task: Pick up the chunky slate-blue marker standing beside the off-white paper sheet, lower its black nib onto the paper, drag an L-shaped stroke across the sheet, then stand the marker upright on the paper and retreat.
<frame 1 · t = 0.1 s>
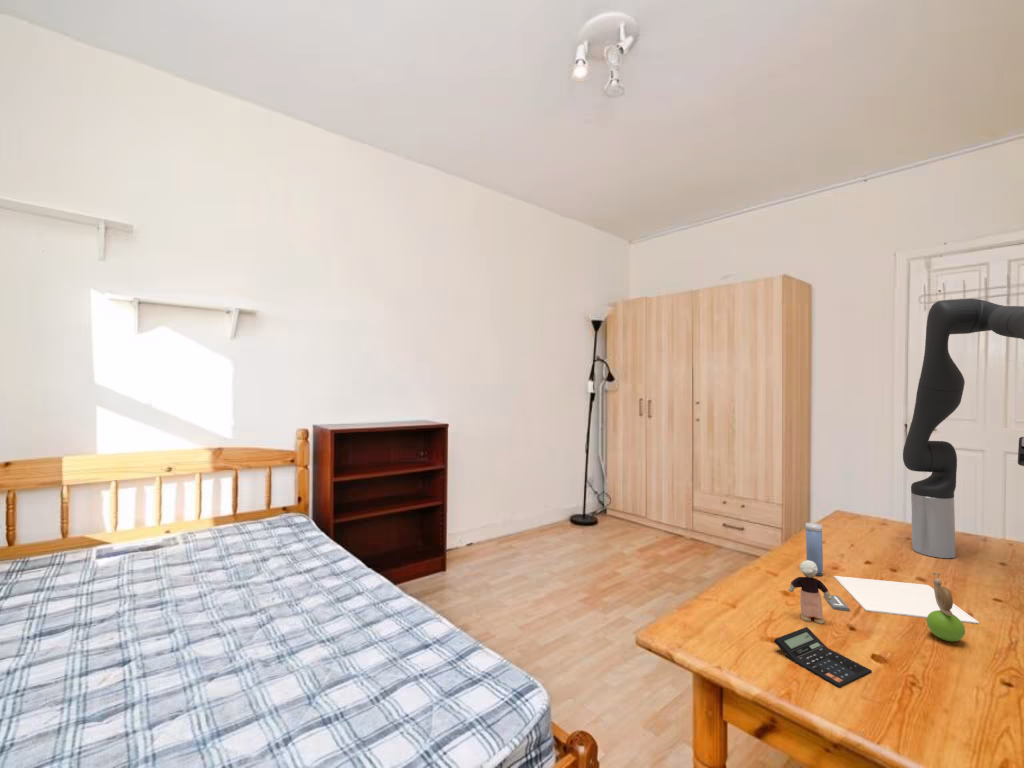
grandmother figurine: (809, 619, 95), on the table
grey flat piece: (836, 603, 101), on the table
calculator: (820, 664, 81), on the table
marker: (814, 573, 117), on the table
paper: (898, 597, 103), on the table
snail figurine: (944, 638, 87), on the table
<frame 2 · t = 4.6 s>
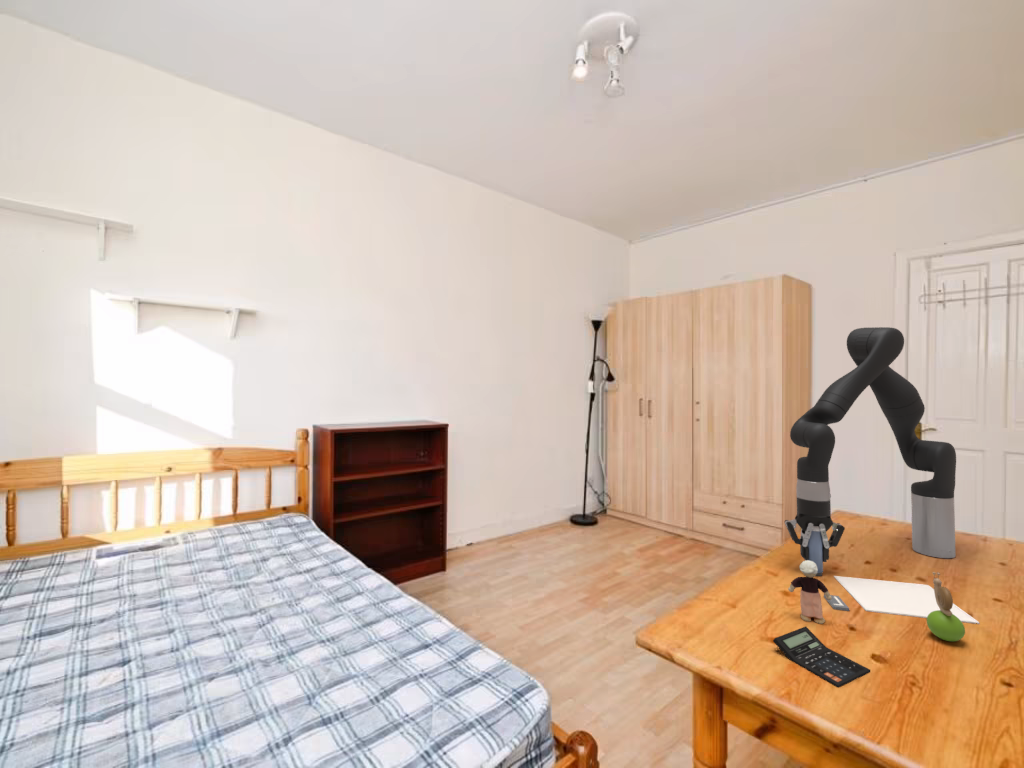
hand: (814, 559, 117), 4 cm above the table, fingers closed on marker, 3 cm apart
marker: (815, 573, 117), on the table, touching gripper
everything else where it was.
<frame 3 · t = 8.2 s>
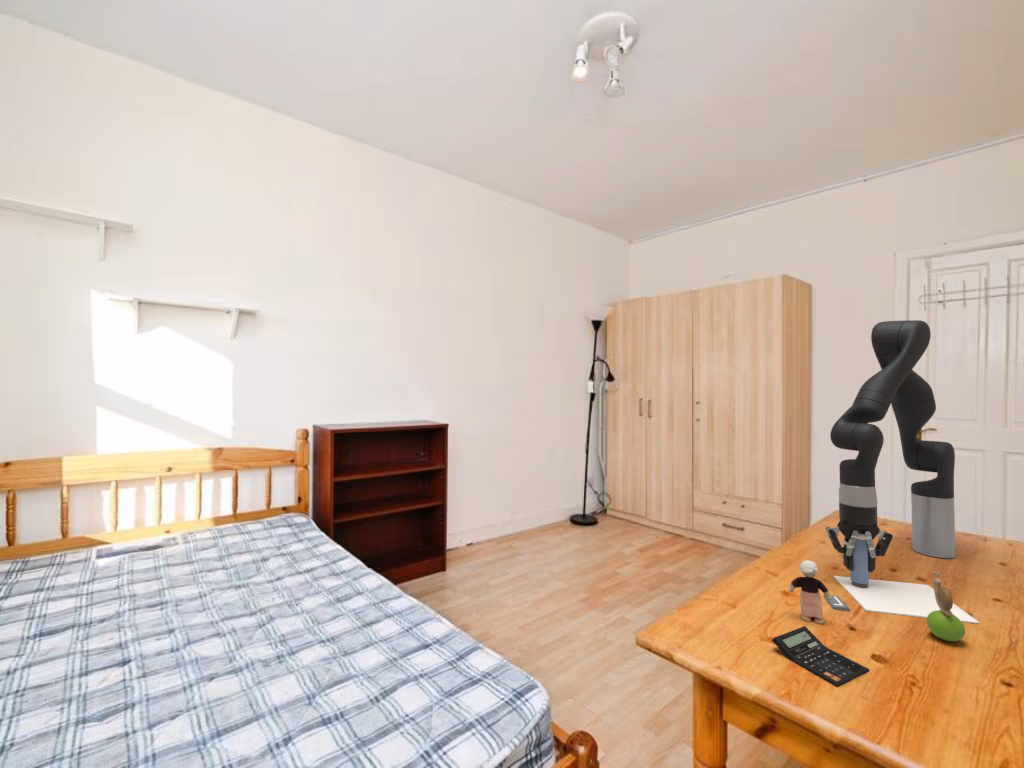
hand: (859, 570, 110), 4 cm above the table, fingers closed on marker, 3 cm apart
marker: (859, 584, 109), resting on paper, touching gripper
everything else where it was.
when the fingers open (4 cm above the table, at t = 12.3 s): marker stays where it is, resting on paper.
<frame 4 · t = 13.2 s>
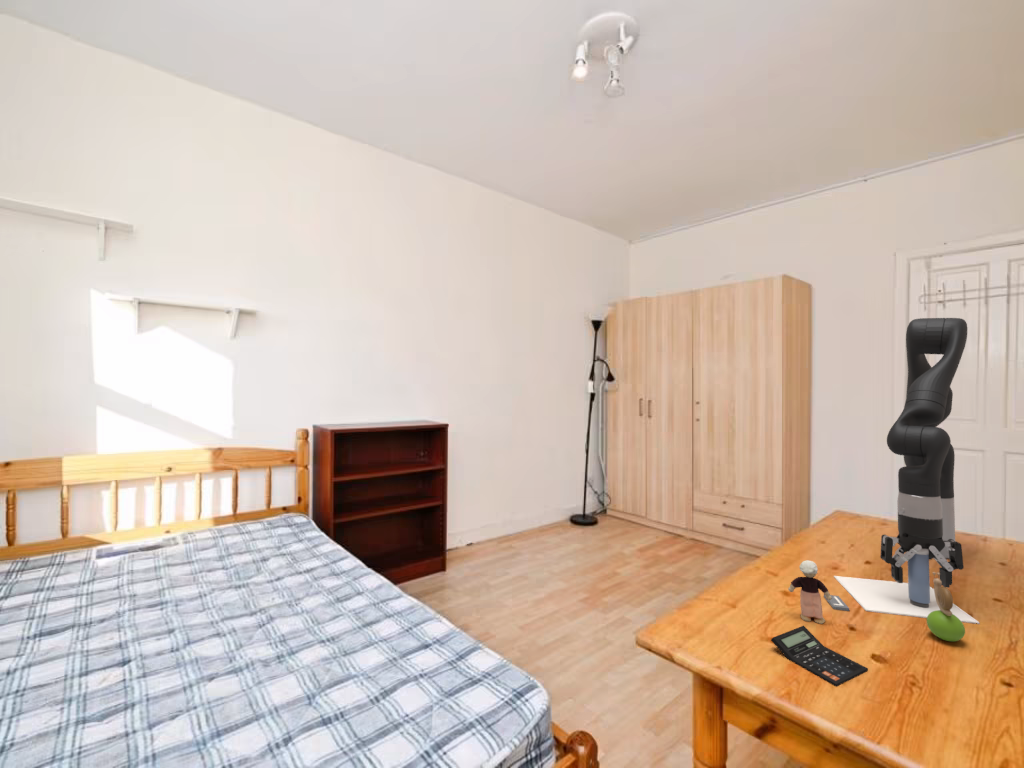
hand: (921, 583, 100), 5 cm above the table, fingers open, 8 cm apart
marker: (919, 604, 100), resting on paper
everything else where it was.
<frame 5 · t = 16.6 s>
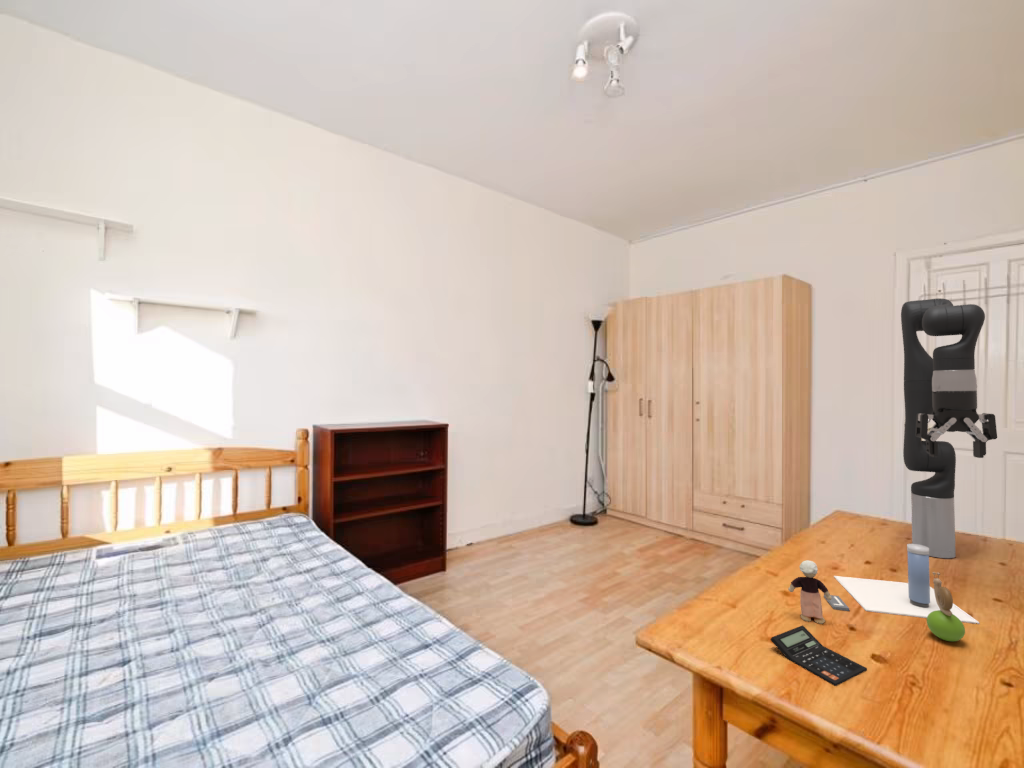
hand: (955, 456, 104), 33 cm above the table, fingers open, 8 cm apart
nothing on the table moved.
at the end: marker tilted 0°; marker inside the target area (0.4 cm from its centre), resting on paper; the gripper is holding nothing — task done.
